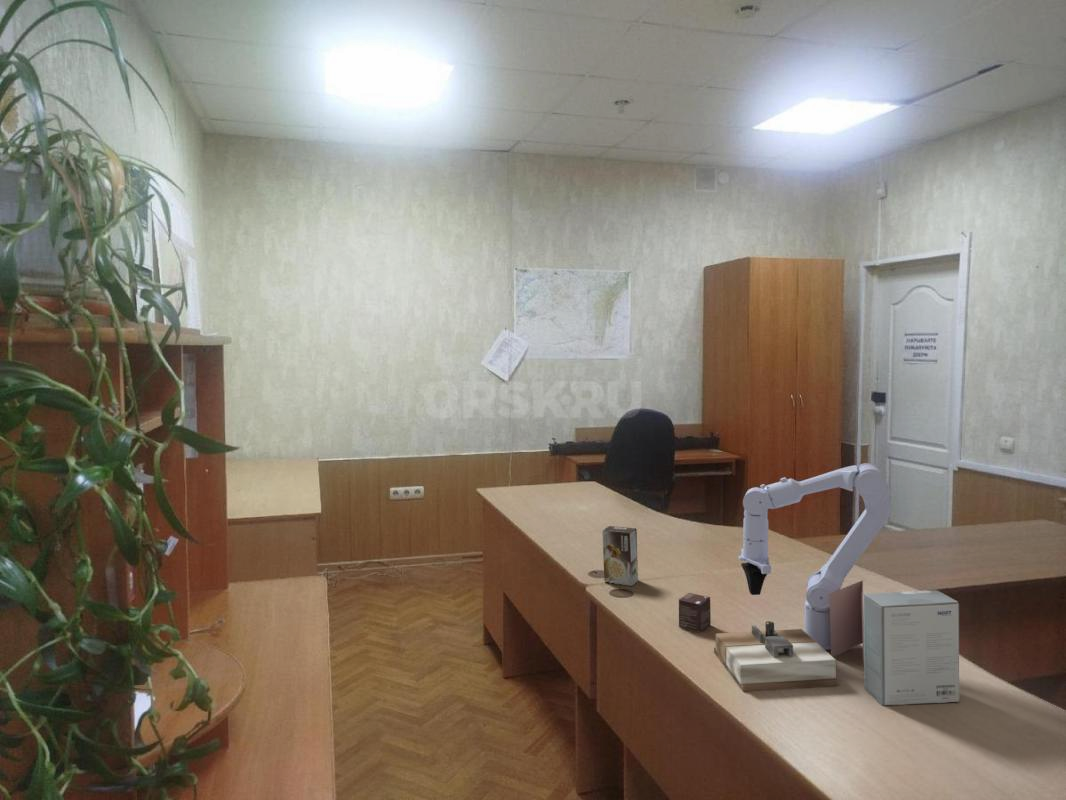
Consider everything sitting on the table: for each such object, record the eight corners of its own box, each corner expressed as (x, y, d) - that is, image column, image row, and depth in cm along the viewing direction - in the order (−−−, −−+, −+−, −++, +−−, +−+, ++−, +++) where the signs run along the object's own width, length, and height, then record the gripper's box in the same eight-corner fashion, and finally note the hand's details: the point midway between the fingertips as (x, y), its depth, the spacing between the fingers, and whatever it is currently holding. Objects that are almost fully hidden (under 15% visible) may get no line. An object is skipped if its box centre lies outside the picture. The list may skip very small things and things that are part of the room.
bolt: (764, 640, 158) (764, 621, 158) (772, 639, 158) (772, 621, 158) (776, 653, 151) (776, 633, 151) (784, 652, 152) (784, 633, 151)
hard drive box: (937, 684, 147) (938, 589, 145) (960, 703, 139) (962, 602, 138) (862, 688, 146) (862, 592, 145) (881, 706, 139) (882, 605, 137)
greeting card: (860, 641, 167) (859, 579, 165) (890, 653, 160) (889, 588, 158) (828, 656, 161) (825, 592, 159) (857, 669, 155) (855, 602, 153)
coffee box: (639, 580, 218) (638, 528, 216) (631, 586, 212) (630, 533, 211) (610, 576, 222) (609, 525, 221) (603, 582, 216) (601, 530, 215)
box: (689, 620, 185) (689, 592, 184) (711, 625, 181) (711, 596, 181) (678, 627, 180) (677, 599, 180) (700, 633, 176) (700, 604, 176)
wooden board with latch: (713, 652, 165) (713, 620, 165) (798, 647, 166) (798, 615, 166) (742, 691, 146) (742, 655, 146) (838, 685, 147) (838, 650, 147)
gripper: (729, 530, 179) (728, 584, 180) (750, 547, 164) (749, 605, 165) (757, 530, 179) (756, 583, 180) (780, 546, 165) (779, 604, 166)
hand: (754, 593), depth 173 cm, fingers closed
